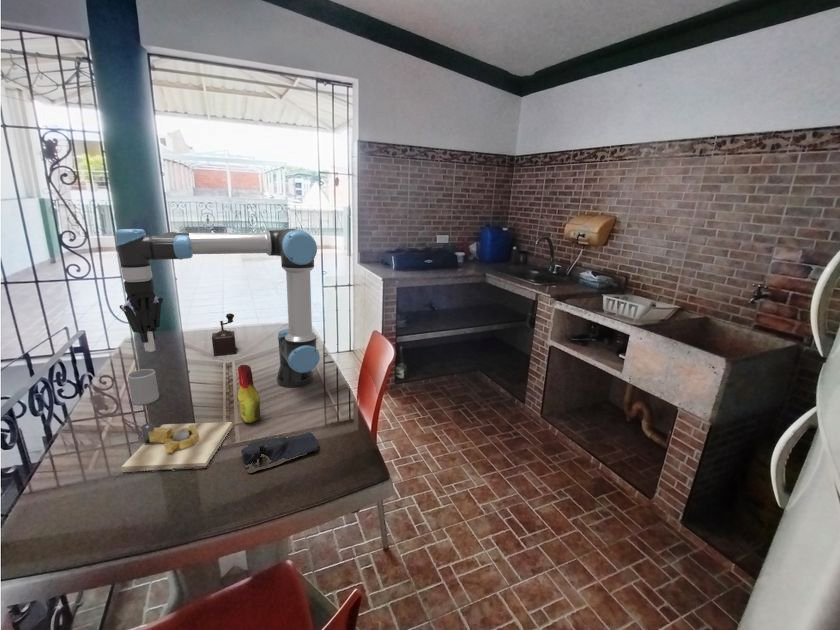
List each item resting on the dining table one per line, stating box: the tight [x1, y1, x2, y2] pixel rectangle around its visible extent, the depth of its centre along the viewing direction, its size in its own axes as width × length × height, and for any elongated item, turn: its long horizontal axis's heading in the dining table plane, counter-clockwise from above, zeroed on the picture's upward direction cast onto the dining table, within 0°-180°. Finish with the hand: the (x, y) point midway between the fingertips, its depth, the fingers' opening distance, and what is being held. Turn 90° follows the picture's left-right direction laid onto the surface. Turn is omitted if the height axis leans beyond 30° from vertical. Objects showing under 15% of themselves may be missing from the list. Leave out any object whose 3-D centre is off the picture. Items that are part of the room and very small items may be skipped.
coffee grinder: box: [211, 312, 238, 357], centre depth 199 cm, size 16×11×18 cm
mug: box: [127, 368, 160, 406], centre depth 149 cm, size 12×8×11 cm
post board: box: [121, 421, 234, 473], centre depth 119 cm, size 22×22×5 cm
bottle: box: [237, 364, 261, 424], centre depth 136 cm, size 12×6×20 cm, turn 34°
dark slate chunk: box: [240, 431, 320, 468], centre depth 119 cm, size 15×22×5 cm
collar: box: [140, 422, 199, 453], centre depth 119 cm, size 12×16×5 cm
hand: (150, 350), depth 128 cm, fingers closed
